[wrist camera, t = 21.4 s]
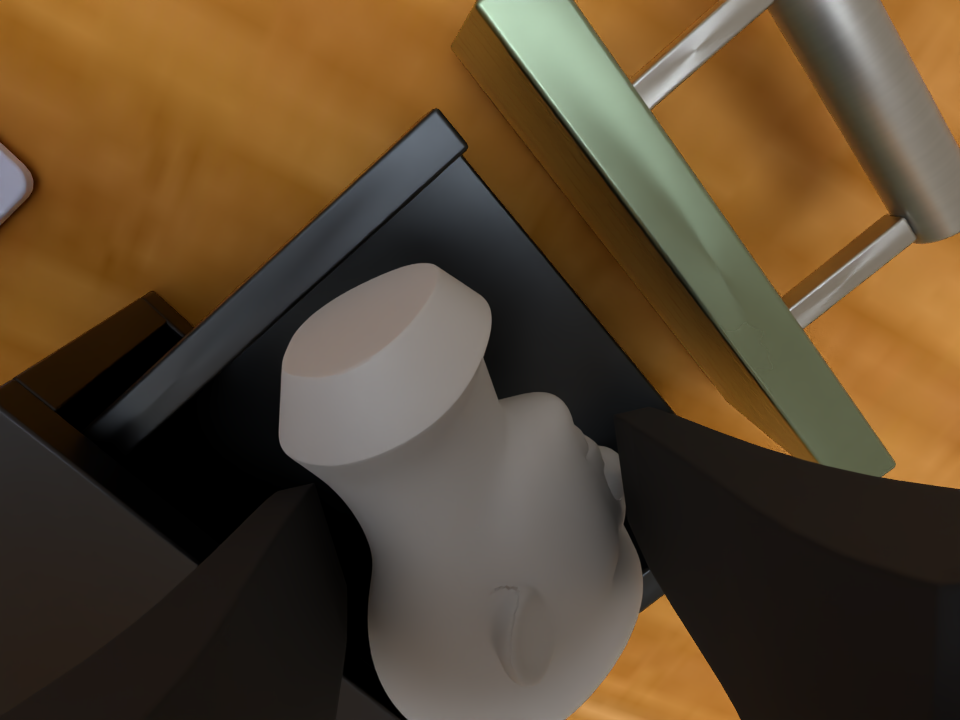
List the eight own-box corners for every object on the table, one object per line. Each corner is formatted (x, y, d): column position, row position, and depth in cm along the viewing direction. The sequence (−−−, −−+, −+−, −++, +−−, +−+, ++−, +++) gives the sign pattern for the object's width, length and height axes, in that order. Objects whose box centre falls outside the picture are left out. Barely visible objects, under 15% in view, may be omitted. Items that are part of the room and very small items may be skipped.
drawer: (665, -156, 14) (811, -316, 9) (911, 256, 17) (1115, 306, 12) (38, 429, 16) (-121, 559, 11) (365, 686, 20) (352, 871, 15)
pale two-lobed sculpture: (594, 560, 15) (382, 681, 13) (501, 209, 12) (219, 312, 11) (738, 691, 11) (465, 879, 10) (652, 222, 8) (243, 385, 7)
